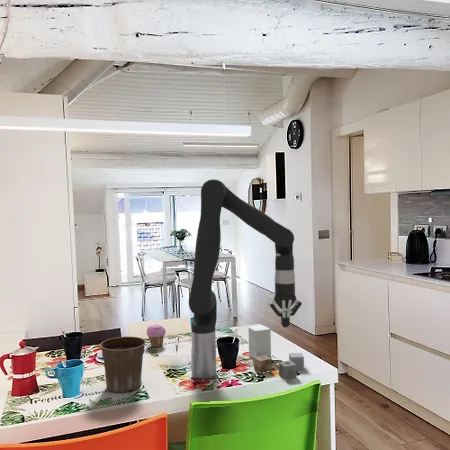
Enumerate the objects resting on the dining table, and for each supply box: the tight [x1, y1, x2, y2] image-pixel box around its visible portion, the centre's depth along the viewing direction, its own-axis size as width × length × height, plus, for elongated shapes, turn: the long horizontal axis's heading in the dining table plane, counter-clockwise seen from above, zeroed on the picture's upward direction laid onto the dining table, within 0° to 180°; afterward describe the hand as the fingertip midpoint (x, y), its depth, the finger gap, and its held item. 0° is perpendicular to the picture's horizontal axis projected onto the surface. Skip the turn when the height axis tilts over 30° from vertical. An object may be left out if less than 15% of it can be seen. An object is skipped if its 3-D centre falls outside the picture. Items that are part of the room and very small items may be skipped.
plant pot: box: [99, 336, 147, 394], centre depth 160 cm, size 16×16×16 cm
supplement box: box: [248, 324, 272, 360], centre depth 188 cm, size 7×7×13 cm
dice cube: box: [278, 360, 298, 380], centre depth 167 cm, size 5×5×5 cm
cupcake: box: [146, 323, 166, 348], centre depth 207 cm, size 9×9×10 cm
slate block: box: [288, 352, 305, 370], centre depth 176 cm, size 5×5×5 cm
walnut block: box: [253, 355, 272, 374], centre depth 173 cm, size 5×5×5 cm
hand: (285, 326), depth 166 cm, fingers closed
